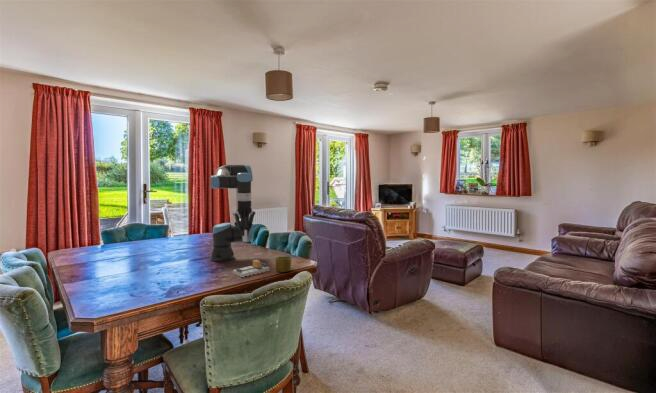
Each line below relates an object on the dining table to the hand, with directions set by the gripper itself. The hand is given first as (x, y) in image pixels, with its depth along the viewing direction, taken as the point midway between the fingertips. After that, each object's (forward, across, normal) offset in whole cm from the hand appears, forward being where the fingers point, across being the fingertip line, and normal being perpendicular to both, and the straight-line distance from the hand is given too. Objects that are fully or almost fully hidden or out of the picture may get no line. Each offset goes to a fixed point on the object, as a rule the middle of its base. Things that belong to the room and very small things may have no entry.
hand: (244, 241), depth 183 cm
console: (+19, +4, 0) cm, 19 cm away
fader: (+17, +7, 0) cm, 18 cm away
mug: (+19, +21, -10) cm, 30 cm away
